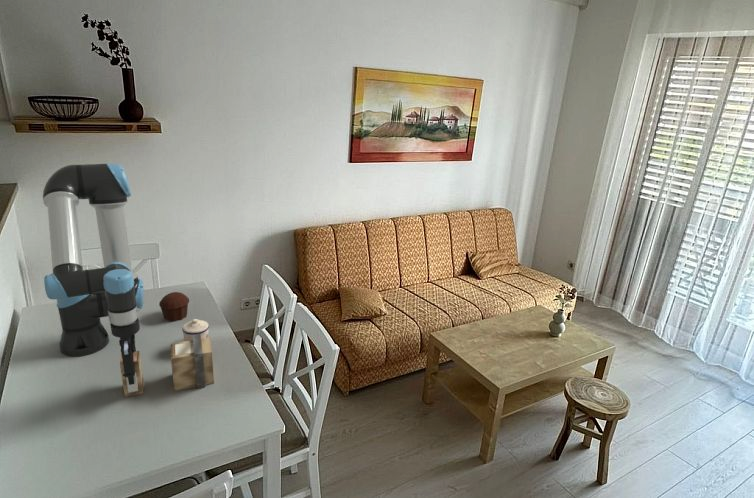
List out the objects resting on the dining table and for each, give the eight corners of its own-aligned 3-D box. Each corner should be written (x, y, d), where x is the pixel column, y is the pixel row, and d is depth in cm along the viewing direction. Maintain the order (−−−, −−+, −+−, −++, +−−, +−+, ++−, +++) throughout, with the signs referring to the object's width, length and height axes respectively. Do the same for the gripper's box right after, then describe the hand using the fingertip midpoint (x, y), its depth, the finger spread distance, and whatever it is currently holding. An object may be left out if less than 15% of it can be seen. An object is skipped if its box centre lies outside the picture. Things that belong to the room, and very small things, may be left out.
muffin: (183, 324, 183) (181, 301, 179) (155, 322, 183) (153, 300, 179) (194, 310, 194) (193, 289, 191) (169, 308, 194) (166, 287, 191)
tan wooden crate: (174, 393, 144) (170, 358, 139) (174, 371, 154) (170, 338, 149) (214, 385, 148) (212, 351, 144) (211, 365, 159) (209, 332, 154)
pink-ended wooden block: (124, 396, 141) (119, 363, 137) (126, 385, 146) (121, 353, 142) (142, 393, 143) (138, 360, 139) (143, 382, 148) (139, 350, 144)
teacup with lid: (211, 352, 166) (209, 324, 162) (184, 356, 163) (181, 327, 159) (209, 335, 176) (207, 308, 172) (184, 338, 173) (181, 311, 169)
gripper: (136, 334, 129) (146, 400, 137) (139, 304, 145) (147, 365, 153) (106, 338, 126) (117, 406, 134) (113, 307, 142) (122, 369, 150)
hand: (133, 384), depth 144 cm, fingers closed on pink-ended wooden block, 6 cm apart
